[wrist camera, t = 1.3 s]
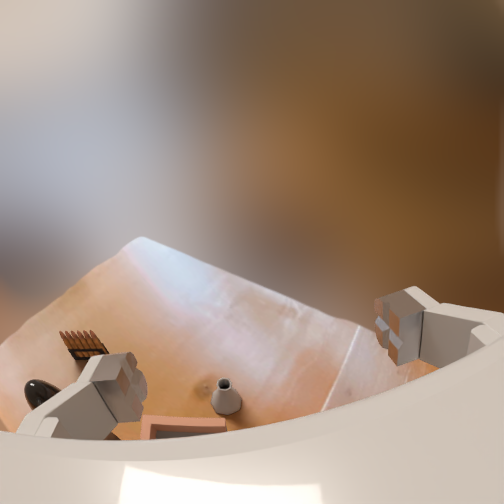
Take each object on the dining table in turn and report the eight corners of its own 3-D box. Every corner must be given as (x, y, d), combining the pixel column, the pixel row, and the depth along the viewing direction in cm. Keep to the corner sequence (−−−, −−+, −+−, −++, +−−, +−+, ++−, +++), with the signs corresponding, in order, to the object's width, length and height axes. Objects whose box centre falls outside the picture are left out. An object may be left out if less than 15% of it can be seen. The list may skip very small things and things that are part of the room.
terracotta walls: (229, 522, 33) (228, 523, 31) (143, 516, 32) (136, 515, 30) (226, 425, 47) (225, 417, 44) (148, 422, 46) (142, 414, 44)
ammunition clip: (74, 359, 71) (55, 334, 63) (75, 354, 72) (57, 328, 64) (109, 359, 72) (93, 333, 65) (109, 353, 74) (94, 327, 66)
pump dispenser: (55, 438, 53) (21, 415, 43) (38, 407, 58) (7, 379, 48) (84, 419, 58) (55, 393, 49) (66, 389, 64) (38, 358, 54)
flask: (244, 413, 64) (245, 396, 58) (212, 417, 63) (209, 401, 56) (238, 386, 70) (238, 366, 63) (208, 390, 68) (204, 371, 62)
